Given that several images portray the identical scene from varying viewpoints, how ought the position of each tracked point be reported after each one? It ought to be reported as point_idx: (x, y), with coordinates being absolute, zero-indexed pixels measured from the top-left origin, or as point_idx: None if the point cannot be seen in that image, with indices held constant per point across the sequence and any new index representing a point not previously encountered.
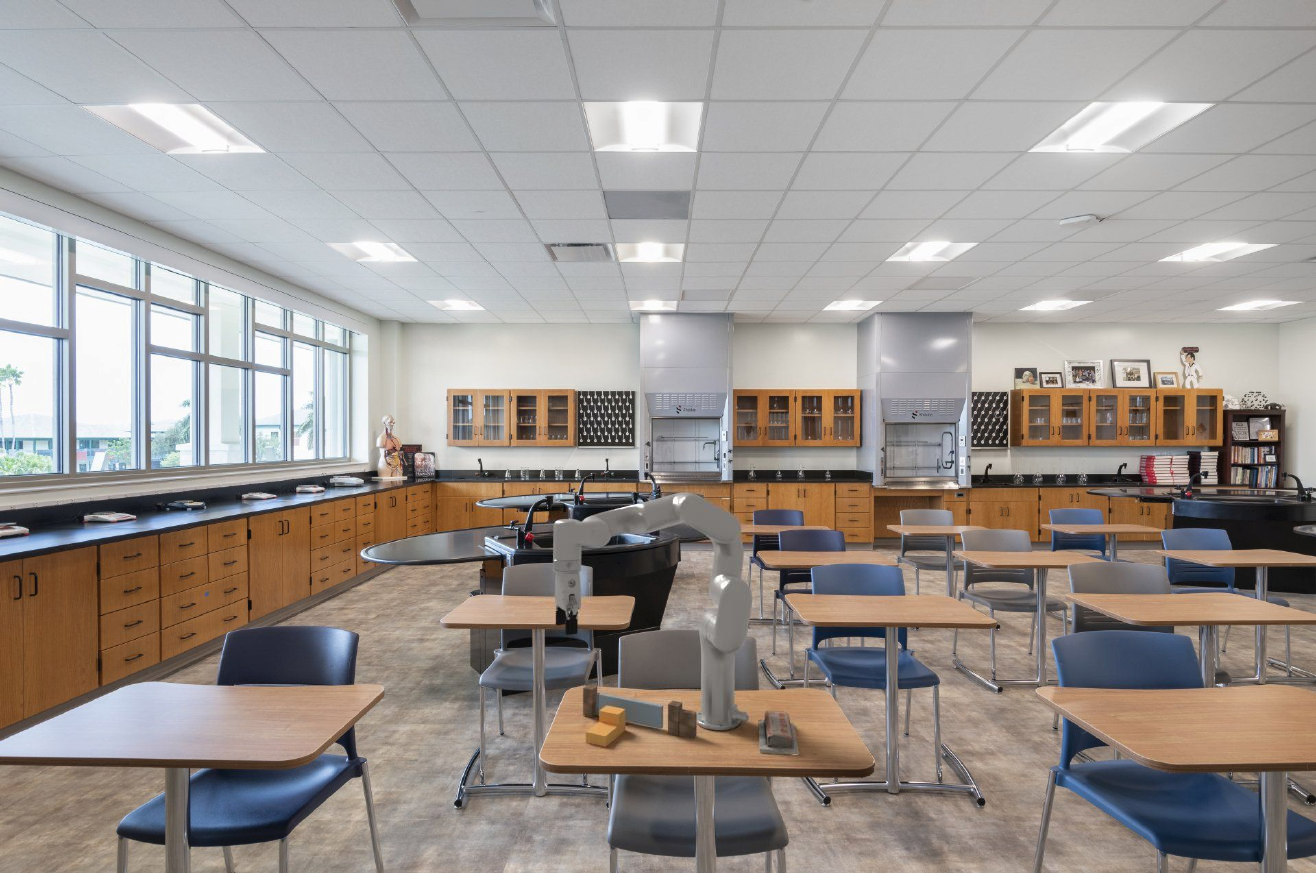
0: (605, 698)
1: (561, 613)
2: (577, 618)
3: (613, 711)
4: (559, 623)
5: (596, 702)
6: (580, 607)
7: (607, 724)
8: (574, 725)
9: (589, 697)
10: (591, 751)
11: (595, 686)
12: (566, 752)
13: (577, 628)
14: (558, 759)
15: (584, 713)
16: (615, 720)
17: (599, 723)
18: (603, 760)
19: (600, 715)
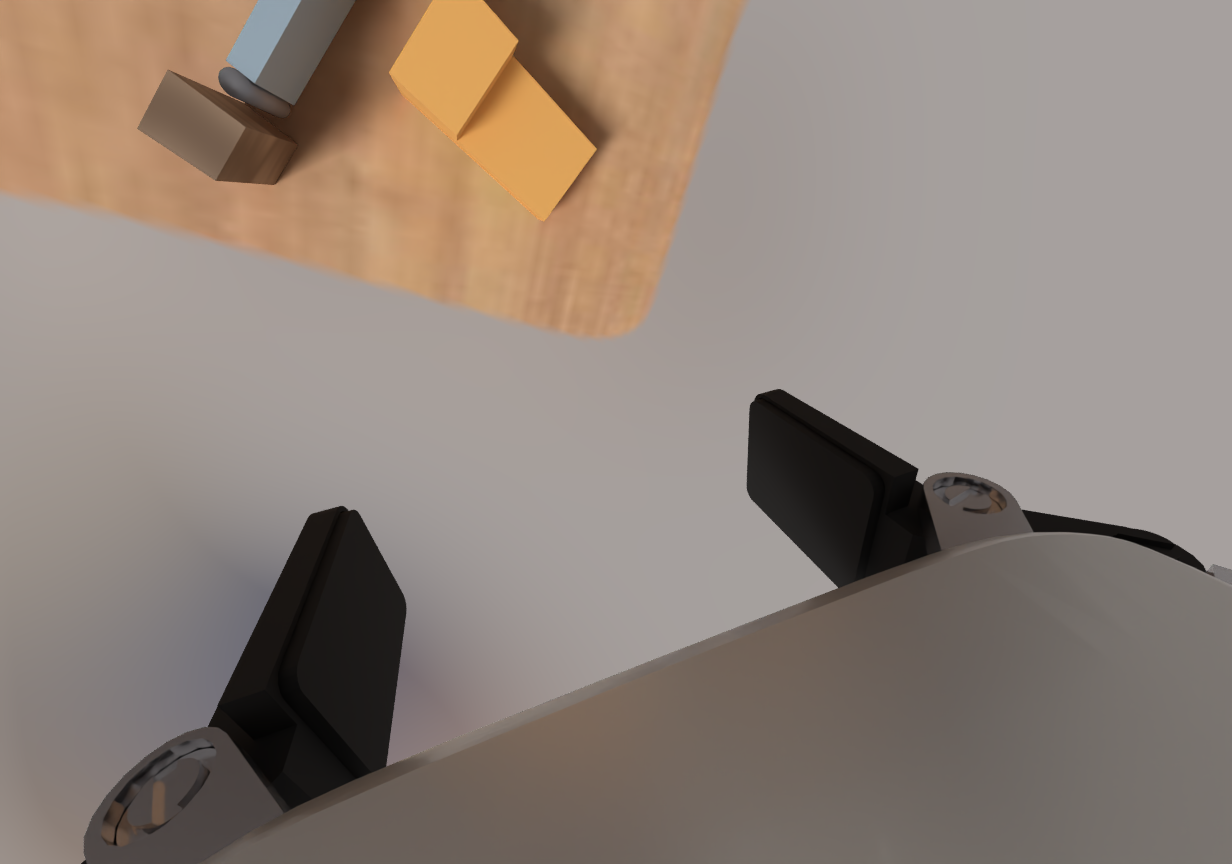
0: (283, 47)
1: (357, 698)
2: (969, 477)
3: (476, 56)
4: (393, 591)
5: (265, 106)
6: (1136, 547)
7: (491, 108)
8: (386, 240)
9: (256, 146)
10: (605, 211)
11: (175, 85)
12: (592, 292)
13: (810, 407)
14: (626, 318)
15: (274, 177)
16: (506, 63)
17: (476, 144)
18: (670, 183)
19: (460, 132)
